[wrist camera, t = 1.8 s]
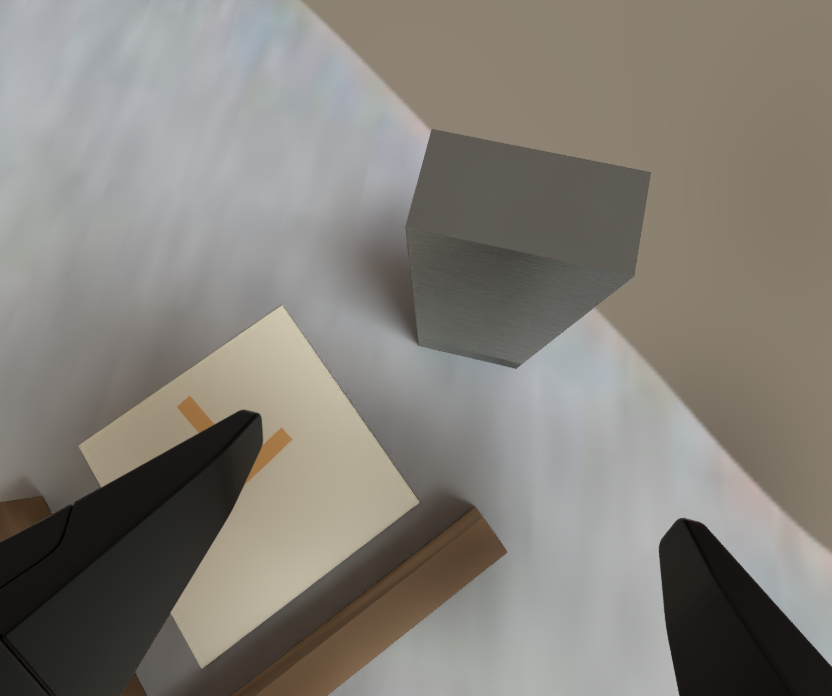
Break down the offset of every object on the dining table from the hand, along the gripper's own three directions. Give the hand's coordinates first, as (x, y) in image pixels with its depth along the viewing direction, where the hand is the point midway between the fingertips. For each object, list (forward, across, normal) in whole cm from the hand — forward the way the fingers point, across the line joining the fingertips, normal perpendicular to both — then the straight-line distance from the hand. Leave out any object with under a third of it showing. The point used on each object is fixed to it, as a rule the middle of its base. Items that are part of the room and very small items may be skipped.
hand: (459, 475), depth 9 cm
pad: (+6, +9, +11) cm, 15 cm away
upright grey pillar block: (+14, 0, +3) cm, 15 cm away
